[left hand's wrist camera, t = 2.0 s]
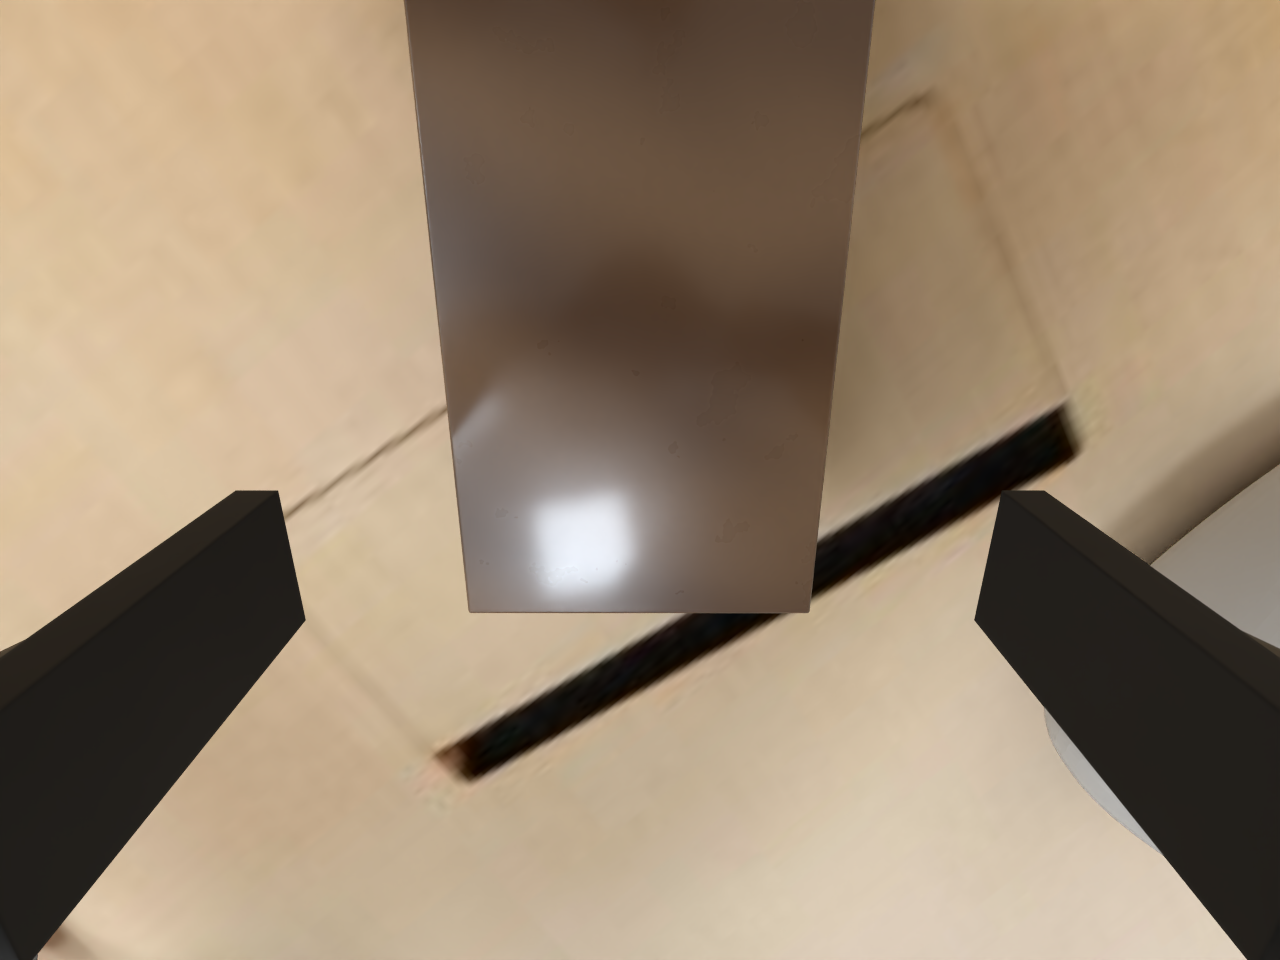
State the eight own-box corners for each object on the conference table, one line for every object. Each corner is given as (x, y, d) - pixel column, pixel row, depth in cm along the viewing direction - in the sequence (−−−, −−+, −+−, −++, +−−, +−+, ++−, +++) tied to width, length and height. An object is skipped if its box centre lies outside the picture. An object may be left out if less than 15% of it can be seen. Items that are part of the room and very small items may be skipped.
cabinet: (485, -29, 22) (383, -185, 13) (794, -29, 22) (896, -184, 13) (520, 489, 28) (467, 614, 20) (757, 489, 28) (809, 613, 20)
